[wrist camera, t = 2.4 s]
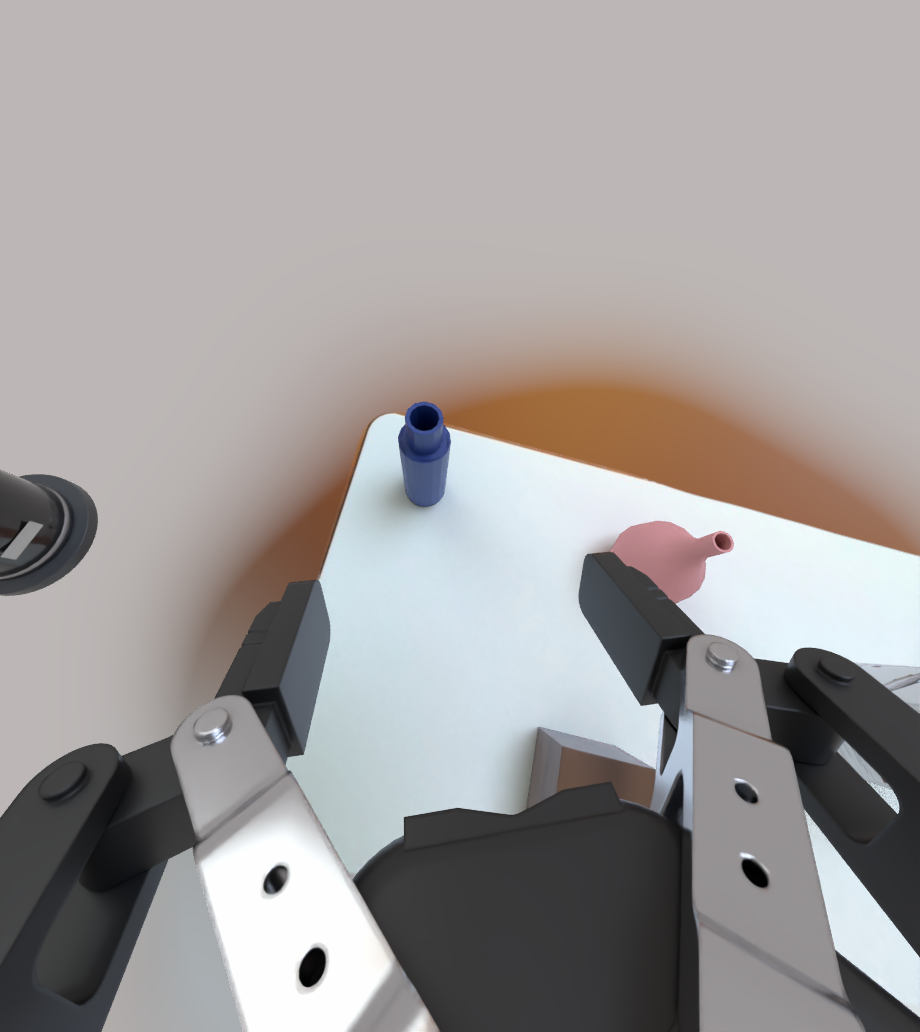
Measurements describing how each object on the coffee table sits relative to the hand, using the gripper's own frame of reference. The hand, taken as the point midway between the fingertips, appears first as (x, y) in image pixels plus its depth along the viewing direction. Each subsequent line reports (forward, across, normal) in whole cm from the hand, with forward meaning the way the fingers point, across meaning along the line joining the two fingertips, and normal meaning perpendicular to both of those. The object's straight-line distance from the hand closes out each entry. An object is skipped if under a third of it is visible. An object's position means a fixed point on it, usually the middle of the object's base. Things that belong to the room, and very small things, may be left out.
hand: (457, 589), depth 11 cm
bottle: (+26, 0, +8) cm, 28 cm away
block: (+7, -10, +27) cm, 30 cm away
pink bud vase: (+19, -20, +15) cm, 32 cm away
